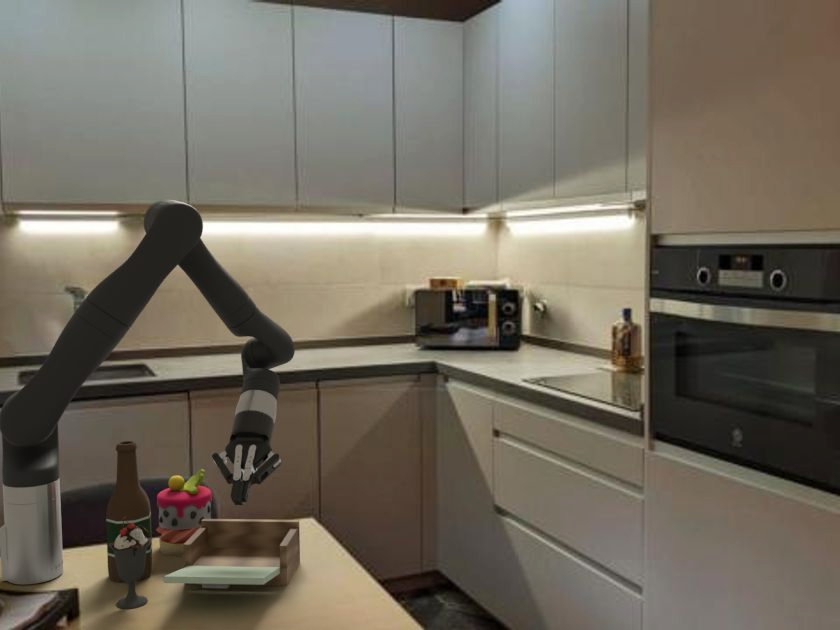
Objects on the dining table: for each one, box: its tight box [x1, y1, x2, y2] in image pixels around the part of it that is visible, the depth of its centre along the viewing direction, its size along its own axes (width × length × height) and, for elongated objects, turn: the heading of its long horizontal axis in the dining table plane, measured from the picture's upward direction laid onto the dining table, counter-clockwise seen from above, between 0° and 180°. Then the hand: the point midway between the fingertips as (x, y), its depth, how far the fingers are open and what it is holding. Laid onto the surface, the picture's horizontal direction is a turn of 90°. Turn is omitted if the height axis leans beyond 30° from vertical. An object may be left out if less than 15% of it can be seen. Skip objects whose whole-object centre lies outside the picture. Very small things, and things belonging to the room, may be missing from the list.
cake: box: [155, 468, 214, 557], centre depth 170 cm, size 10×11×15 cm
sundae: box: [109, 517, 151, 610], centre depth 143 cm, size 7×7×15 cm
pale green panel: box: [163, 566, 281, 589], centre depth 144 cm, size 16×2×12 cm
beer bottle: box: [105, 440, 153, 584], centre depth 155 cm, size 8×8×24 cm
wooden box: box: [183, 518, 301, 587], centre depth 156 cm, size 18×11×8 cm, turn 87°
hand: (238, 503), depth 153 cm, fingers closed
